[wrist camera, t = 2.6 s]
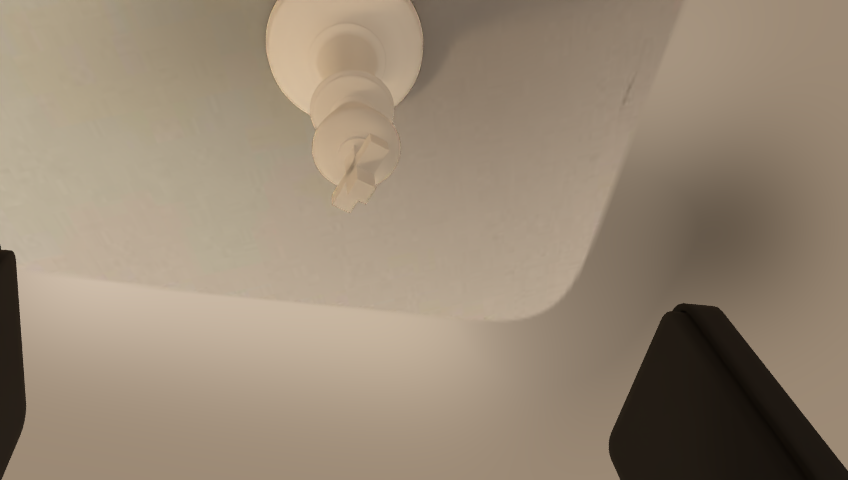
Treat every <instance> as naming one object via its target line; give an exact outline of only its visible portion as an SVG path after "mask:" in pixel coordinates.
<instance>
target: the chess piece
mask: <svg viewBox="0 0 848 480" xmlns="http://www.w3.org/2000/svg"><path fill="white" fill-rule="evenodd" d="M266 52H267V57H268V61H269V65H270V68H271V71H272V74H273V76H274V78H275V80H276V82H277V84H278V86H279V87H280V89H281V90H282V92H283V93H284V94H285V96H286V97H287V98H288V99H289V100H290V101H291V102H292V103H293V104H294V105H296V106H297V107H298V108H299V109H301V110H302V111H304V112H305V113H307V114H309V115H310V116H311V120H312V123H313V126H314V128H315V129H316V132H315V135H314V138H313V142H312V154H313V159H314V162H315V164H316V166H317V168H318V170H319V171H320V173H321V174H322V175H323V176H324V177H325V178H326V179H327V180H329V181H330V182H332V183H333V184H335V185H337V188H336V189H335V191H334V193H333V194H332V205H333V206H335V207H338V208H340V209H342V210H344V211H346V212H348V213H350V212H351V211H352V209H353V207H354V206H355V204H356V203H357V201H359V202H361V203H364V204H366V203H367V202H368V200H369V198H370V197H371V195H372V194H373V192H374V191H375V189H376V185H377V184H379V183H381V182H382V181H384V180H385V179H386V178H387V177H388V176H389V175H390V174H391V173H392V172H393V171H394V169H395V167H396V166H397V163H398V161H399V158H400V152H401V144H400V138H399V135H398V132H397V130H396V128H395V127H394V125H393V124H392V121H393V118H394V107H395V106H397V105H398V104H399V103H400V102H401V101H402V100H403V99H404V98H405V96H406V95H407V94H408V93H409V91H410V90H411V88H412V87H413V85H414V83H415V81H416V79H417V76H418V74H419V71H420V67H421V63H422V56H423V33H422V27H421V23H420V20H419V17H418V14H417V12H416V10H415V8H414V6H413V4H412V2H411V1H410V0H277V2H276V3H275V5H274V7H273V9H272V11H271V14H270V17H269V20H268V24H267V29H266Z"/></svg>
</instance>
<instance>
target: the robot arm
mask: <svg viewBox="0 0 848 480" xmlns="http://www.w3.org/2000/svg"><path fill="white" fill-rule="evenodd" d="M25 414H26V397H25V383H24V368H23V354H22V341H21V327H20V312H19V298H18V283H17V269H16V259H15V255H14V252H13V251H10V250H1V246H0V480H1V479H2V477H3V474H4V472H5V470H6V467H7V465H8V463H9V460H10V458H11V456H12V453H13V451H14V449H15V446H16V444H17V442H18V439H19V437H20V434H21V431H22V429H23V425H24V420H25ZM609 453H610V457H611V460H612V462H613V464H614V467H615V469H616V471H617V473H618V476H619V477H620V480H848V471H847V469H846V468H845V467H844V466H843V464H842V463H841V462H840V461H839V460H838V458H837V457H836V455H835V454H834V453H833V452H832V450H831V449H830V448H829V447H828V445H827V444H826V443H825V441H824V440H823V439H822V438H821V436H820V435H819V434H818V433H817V431H816V430H815V429H814V427H813V426H812V425H811V424H810V422H809V421H808V420H807V419H806V417H805V416H804V415H803V414H802V412H801V411H800V410H799V408H798V407H797V406H796V405H795V403H794V402H793V401H792V399H791V398H790V397H789V396H788V394H787V393H786V392H785V391H784V389H783V388H782V387H781V385H780V384H779V383H778V382H777V380H776V379H775V378H774V377H773V375H772V374H771V373H770V371H769V370H768V369H767V368H766V367H765V365H764V364H763V363H762V361H761V360H760V359H759V357H758V356H757V355H756V354H755V352H754V351H753V350H752V349H751V347H750V346H749V345H748V343H747V342H746V341H745V340H744V338H743V337H742V336H741V335H740V333H739V332H738V331H737V330H736V328H735V327H734V326H733V325H732V323H731V322H730V321H729V319H728V318H727V317H726V315H725V314H724V313H723V312H722V311H721V310H720V309H719V308H718V307H714V306H706V305H696V304H685V303H683V304H679V305H677V306H676V307H675V308H674V309H673V311H670V312H667V313H666V314H665V315H664V316H663V317H662V320H661V321H660V324H659V326H658V328H657V330H656V333H655V335H654V337H653V340H652V342H651V344H650V346H649V349H648V351H647V353H646V356H645V358H644V360H643V362H642V364H641V367H640V369H639V371H638V373H637V376H636V378H635V380H634V383H633V385H632V387H631V389H630V392H629V394H628V396H627V399H626V401H625V403H624V405H623V408H622V410H621V412H620V415H619V417H618V419H617V421H616V423H615V426H614V428H613V430H612V432H611V436H610V439H609Z"/></svg>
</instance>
